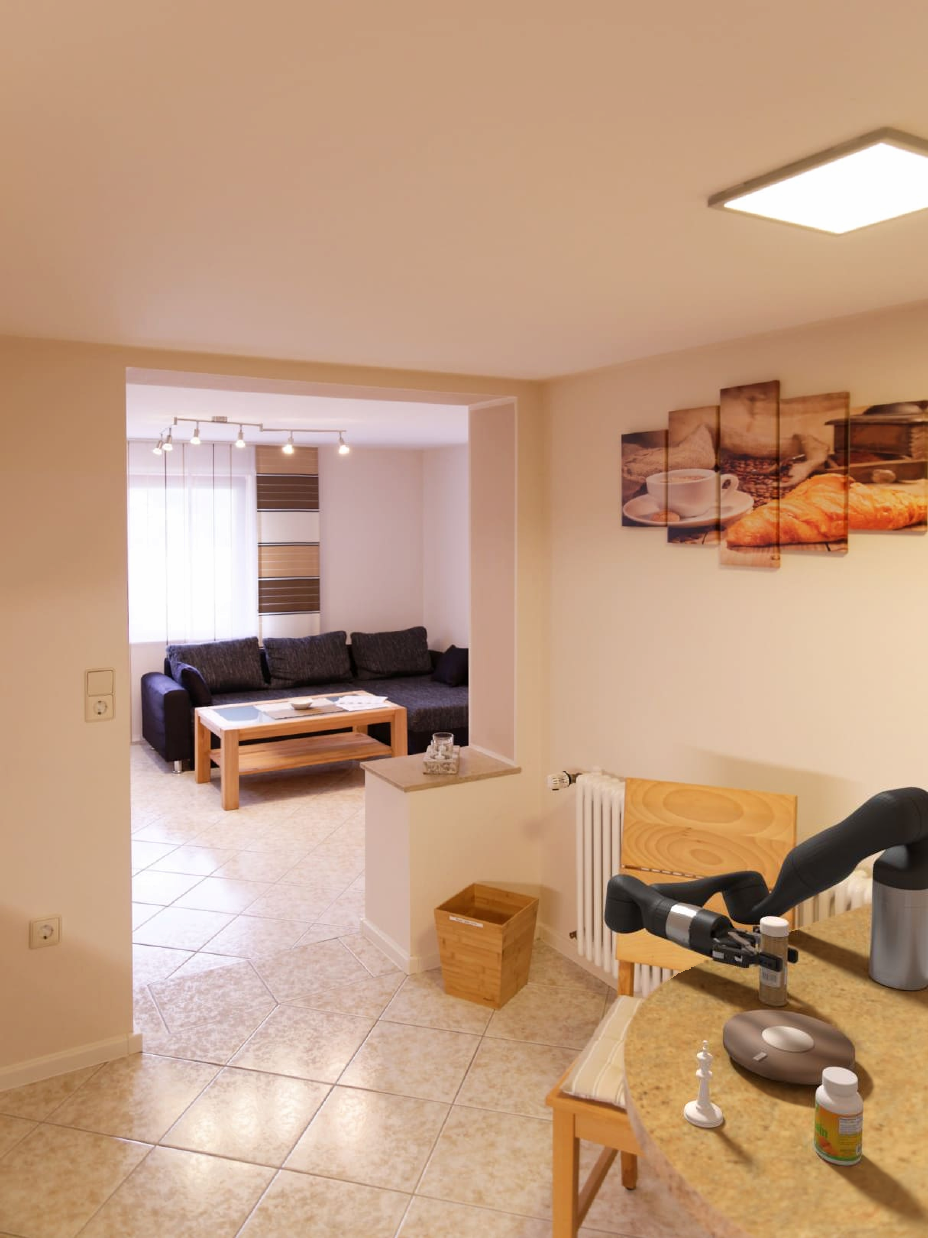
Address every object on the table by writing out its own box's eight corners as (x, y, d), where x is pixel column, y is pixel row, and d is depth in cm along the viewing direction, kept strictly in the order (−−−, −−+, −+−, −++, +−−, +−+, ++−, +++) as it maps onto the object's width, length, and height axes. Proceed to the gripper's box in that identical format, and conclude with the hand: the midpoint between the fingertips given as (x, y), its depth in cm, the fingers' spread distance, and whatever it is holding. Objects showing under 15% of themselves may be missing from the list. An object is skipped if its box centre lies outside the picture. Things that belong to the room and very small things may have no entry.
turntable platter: (764, 1008, 147) (764, 997, 146) (877, 1053, 133) (878, 1041, 133) (697, 1046, 135) (698, 1035, 135) (815, 1100, 121) (815, 1088, 121)
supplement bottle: (805, 1140, 115) (808, 1064, 115) (847, 1138, 116) (850, 1062, 115) (826, 1168, 110) (829, 1089, 109) (870, 1166, 110) (872, 1087, 110)
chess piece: (724, 1110, 122) (726, 1035, 121) (721, 1131, 117) (723, 1054, 116) (685, 1102, 123) (687, 1029, 123) (681, 1123, 119) (683, 1047, 118)
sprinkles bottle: (792, 1003, 152) (795, 922, 151) (774, 1010, 149) (777, 928, 148) (769, 992, 155) (772, 913, 155) (751, 999, 153) (754, 918, 152)
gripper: (721, 940, 167) (810, 971, 155) (674, 962, 158) (765, 997, 145) (722, 899, 167) (812, 927, 154) (675, 919, 157) (766, 951, 145)
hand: (788, 961), depth 150 cm, fingers closed on sprinkles bottle, 4 cm apart
